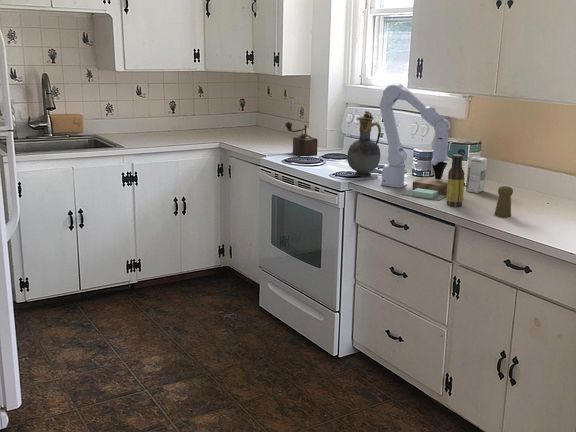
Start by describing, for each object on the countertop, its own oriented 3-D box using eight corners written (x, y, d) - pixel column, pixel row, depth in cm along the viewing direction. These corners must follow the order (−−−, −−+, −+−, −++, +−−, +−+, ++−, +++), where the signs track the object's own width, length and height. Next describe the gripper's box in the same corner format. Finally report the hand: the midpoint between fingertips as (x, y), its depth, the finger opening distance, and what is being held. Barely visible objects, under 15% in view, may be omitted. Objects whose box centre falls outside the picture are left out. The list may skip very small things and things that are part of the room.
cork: (491, 215, 236) (494, 186, 233) (499, 212, 240) (502, 184, 237) (506, 218, 232) (509, 189, 229) (514, 215, 236) (517, 186, 233)
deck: (412, 190, 273) (412, 181, 272) (422, 185, 282) (423, 176, 281) (446, 195, 265) (446, 186, 264) (455, 190, 274) (456, 181, 273)
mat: (402, 194, 265) (402, 194, 265) (410, 190, 273) (410, 190, 272) (438, 200, 257) (438, 199, 257) (446, 196, 264) (446, 195, 264)
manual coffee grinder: (307, 152, 360) (308, 120, 355) (317, 155, 351) (318, 122, 346) (283, 154, 353) (283, 121, 348) (292, 157, 344) (293, 124, 339)
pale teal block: (417, 188, 267) (417, 192, 268) (411, 190, 262) (411, 195, 263) (438, 191, 263) (437, 195, 263) (432, 193, 258) (432, 198, 258)
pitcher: (343, 175, 300) (345, 111, 292) (369, 170, 313) (372, 109, 305) (360, 179, 293) (364, 113, 285) (386, 174, 305) (390, 111, 297)
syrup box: (471, 189, 278) (474, 156, 274) (484, 191, 274) (487, 157, 270) (465, 191, 274) (468, 157, 270) (478, 193, 270) (482, 159, 266)
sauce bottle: (458, 202, 254) (462, 153, 248) (465, 206, 248) (470, 156, 242) (442, 203, 252) (447, 153, 247) (449, 207, 246) (454, 156, 241)
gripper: (443, 151, 262) (440, 183, 266) (455, 146, 274) (453, 177, 278) (427, 149, 266) (424, 181, 270) (440, 144, 278) (437, 175, 281)
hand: (438, 179), depth 274 cm, fingers closed
